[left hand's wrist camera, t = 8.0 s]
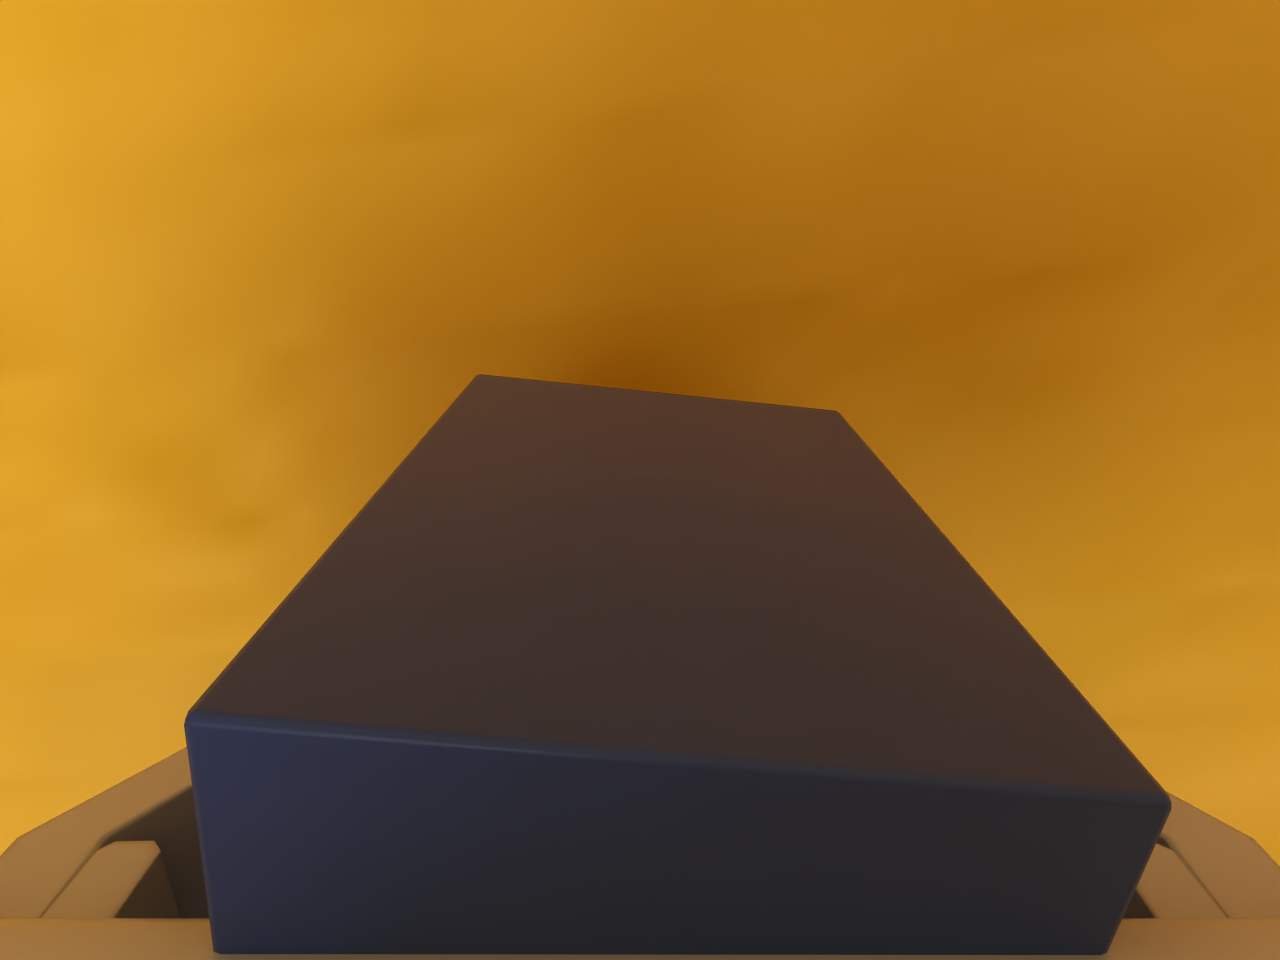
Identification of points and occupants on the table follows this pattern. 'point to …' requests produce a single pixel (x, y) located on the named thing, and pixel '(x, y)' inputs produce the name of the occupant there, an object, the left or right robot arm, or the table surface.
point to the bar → (655, 711)
